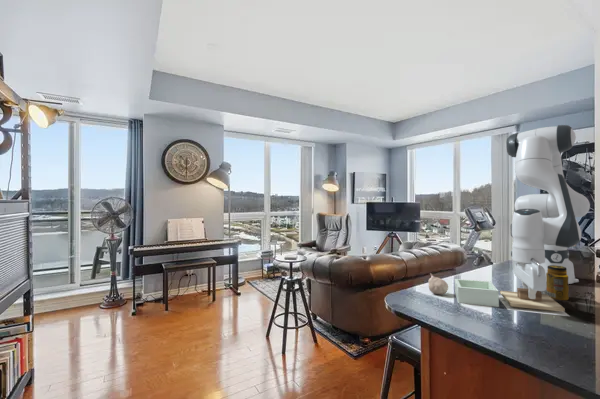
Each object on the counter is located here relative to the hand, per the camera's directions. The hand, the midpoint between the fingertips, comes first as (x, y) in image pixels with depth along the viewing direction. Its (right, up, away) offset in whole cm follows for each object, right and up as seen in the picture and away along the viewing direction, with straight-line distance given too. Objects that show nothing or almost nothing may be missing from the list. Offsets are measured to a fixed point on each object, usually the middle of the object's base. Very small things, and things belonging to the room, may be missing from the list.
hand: (529, 296), depth 99 cm
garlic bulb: (-25, -4, +14) cm, 29 cm away
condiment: (+14, -3, +6) cm, 16 cm away
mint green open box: (-15, -4, +6) cm, 17 cm away
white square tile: (0, -3, 0) cm, 3 cm away
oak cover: (0, -2, 0) cm, 2 cm away
